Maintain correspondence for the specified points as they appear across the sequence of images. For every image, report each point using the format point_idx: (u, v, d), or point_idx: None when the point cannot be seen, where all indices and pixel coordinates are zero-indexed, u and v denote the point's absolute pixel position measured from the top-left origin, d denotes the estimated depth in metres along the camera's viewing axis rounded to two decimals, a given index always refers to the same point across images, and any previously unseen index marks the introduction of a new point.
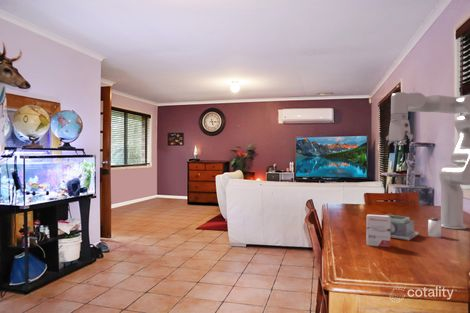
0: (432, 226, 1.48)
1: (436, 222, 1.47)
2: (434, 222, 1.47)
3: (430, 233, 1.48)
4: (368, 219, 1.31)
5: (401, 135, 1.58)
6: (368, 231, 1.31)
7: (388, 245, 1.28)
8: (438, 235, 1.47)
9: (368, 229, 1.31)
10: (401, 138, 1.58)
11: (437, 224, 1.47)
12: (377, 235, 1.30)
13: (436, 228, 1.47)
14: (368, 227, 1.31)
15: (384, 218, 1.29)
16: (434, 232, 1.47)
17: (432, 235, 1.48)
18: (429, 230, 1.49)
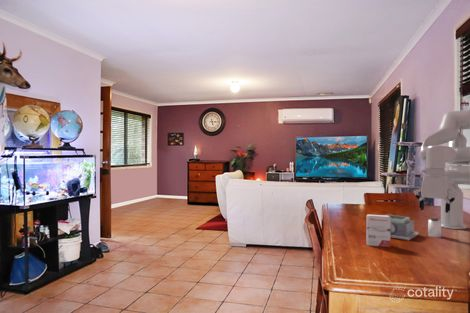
0: (432, 226, 1.48)
1: (436, 222, 1.47)
2: (434, 222, 1.47)
3: (430, 233, 1.48)
4: (368, 219, 1.31)
5: None
6: (368, 231, 1.31)
7: (388, 245, 1.28)
8: (438, 235, 1.47)
9: (368, 229, 1.31)
10: None
11: (437, 224, 1.47)
12: (377, 235, 1.30)
13: (436, 228, 1.47)
14: (368, 227, 1.31)
15: (384, 218, 1.29)
16: (434, 232, 1.47)
17: (432, 235, 1.48)
18: (429, 230, 1.49)
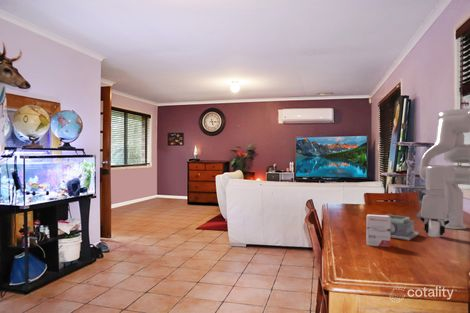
0: (432, 226, 1.47)
1: (436, 222, 1.47)
2: (434, 222, 1.47)
3: (430, 233, 1.48)
4: (368, 219, 1.31)
5: None
6: (368, 231, 1.31)
7: (388, 245, 1.28)
8: (438, 235, 1.47)
9: (368, 229, 1.31)
10: None
11: (437, 224, 1.47)
12: (377, 235, 1.30)
13: (436, 228, 1.47)
14: (368, 227, 1.31)
15: (384, 218, 1.29)
16: (434, 232, 1.47)
17: (432, 235, 1.48)
18: (429, 230, 1.49)
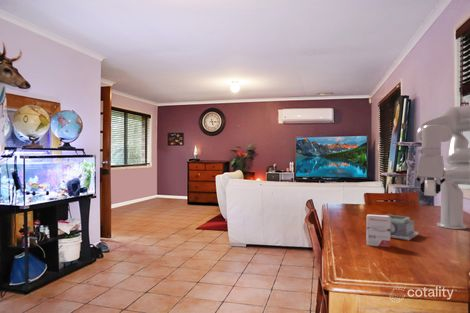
0: (428, 185, 1.48)
1: (432, 180, 1.47)
2: (430, 181, 1.47)
3: (426, 192, 1.48)
4: (368, 219, 1.31)
5: None
6: (368, 231, 1.31)
7: (388, 245, 1.28)
8: (434, 193, 1.47)
9: (368, 229, 1.31)
10: None
11: (433, 182, 1.47)
12: (377, 235, 1.30)
13: (432, 186, 1.47)
14: (368, 227, 1.31)
15: (384, 218, 1.29)
16: (430, 191, 1.47)
17: (428, 194, 1.48)
18: (425, 189, 1.49)
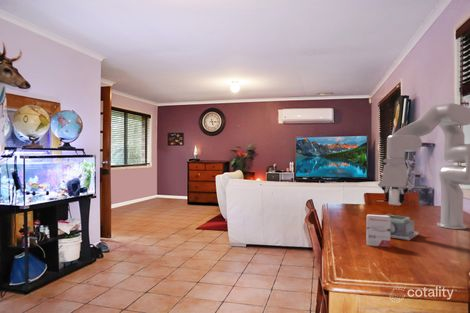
0: (392, 194, 1.49)
1: (396, 190, 1.49)
2: (394, 190, 1.49)
3: (390, 201, 1.50)
4: (368, 219, 1.31)
5: None
6: (368, 231, 1.31)
7: (388, 245, 1.28)
8: (397, 203, 1.48)
9: (368, 229, 1.31)
10: None
11: (396, 192, 1.49)
12: (377, 235, 1.30)
13: (396, 196, 1.49)
14: (368, 227, 1.31)
15: (384, 218, 1.29)
16: (394, 200, 1.49)
17: (392, 203, 1.49)
18: (389, 198, 1.51)
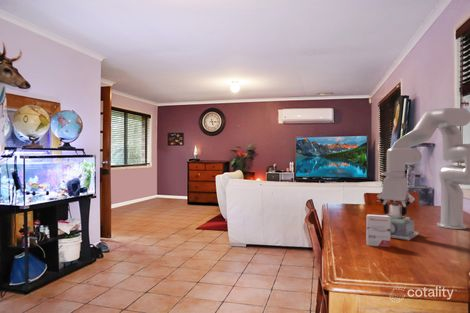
0: (392, 211, 1.49)
1: (396, 207, 1.49)
2: (394, 207, 1.49)
3: None
4: (368, 219, 1.31)
5: None
6: (368, 231, 1.31)
7: (388, 245, 1.28)
8: None
9: (368, 229, 1.31)
10: None
11: (397, 208, 1.49)
12: (377, 235, 1.30)
13: (396, 212, 1.49)
14: (368, 227, 1.31)
15: (384, 218, 1.29)
16: (394, 216, 1.49)
17: None
18: (390, 215, 1.51)
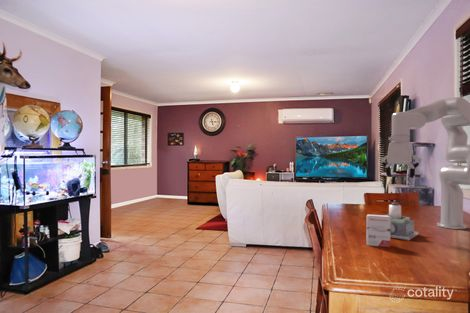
0: (392, 211, 1.49)
1: (396, 206, 1.49)
2: (394, 206, 1.49)
3: (390, 217, 1.50)
4: (368, 219, 1.31)
5: None
6: (368, 231, 1.31)
7: (388, 245, 1.28)
8: None
9: (368, 229, 1.31)
10: None
11: (396, 208, 1.49)
12: (377, 235, 1.30)
13: (396, 212, 1.49)
14: (368, 227, 1.31)
15: (384, 218, 1.29)
16: (394, 216, 1.49)
17: None
18: (389, 215, 1.51)
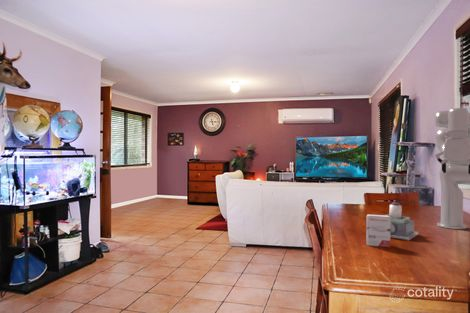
0: (392, 211, 1.49)
1: (396, 206, 1.49)
2: (394, 206, 1.49)
3: (390, 217, 1.50)
4: (368, 219, 1.31)
5: None
6: (368, 231, 1.31)
7: (388, 245, 1.28)
8: None
9: (368, 229, 1.31)
10: None
11: (396, 208, 1.49)
12: (377, 235, 1.30)
13: (396, 212, 1.49)
14: (368, 227, 1.31)
15: (384, 218, 1.29)
16: (394, 216, 1.49)
17: None
18: (389, 214, 1.51)
